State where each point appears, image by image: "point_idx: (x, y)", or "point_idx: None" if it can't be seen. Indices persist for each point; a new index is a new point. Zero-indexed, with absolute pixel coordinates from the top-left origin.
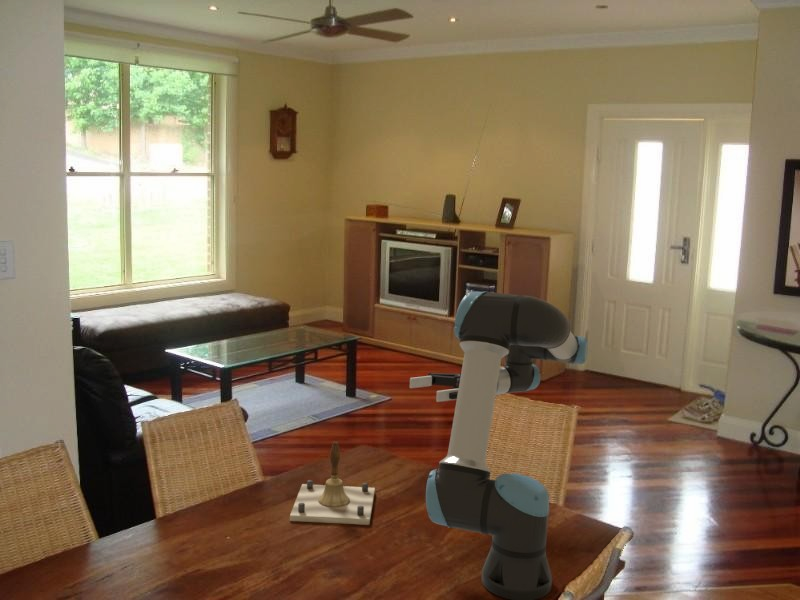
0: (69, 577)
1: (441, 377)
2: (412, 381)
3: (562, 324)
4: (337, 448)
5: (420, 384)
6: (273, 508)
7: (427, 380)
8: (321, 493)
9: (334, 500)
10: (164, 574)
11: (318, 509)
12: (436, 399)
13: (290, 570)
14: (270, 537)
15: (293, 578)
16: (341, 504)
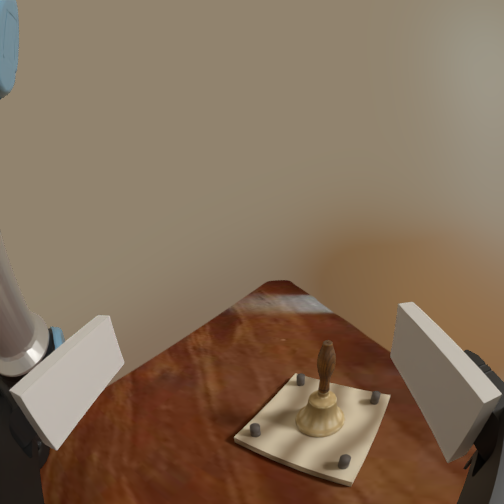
0: (270, 290)
1: (488, 495)
2: (398, 325)
3: None
4: (320, 352)
5: (418, 382)
6: (335, 372)
7: (450, 400)
8: (351, 411)
9: (302, 410)
10: (247, 312)
11: (298, 398)
12: (120, 355)
13: (196, 356)
14: (265, 360)
15: (184, 354)
16: (296, 421)
